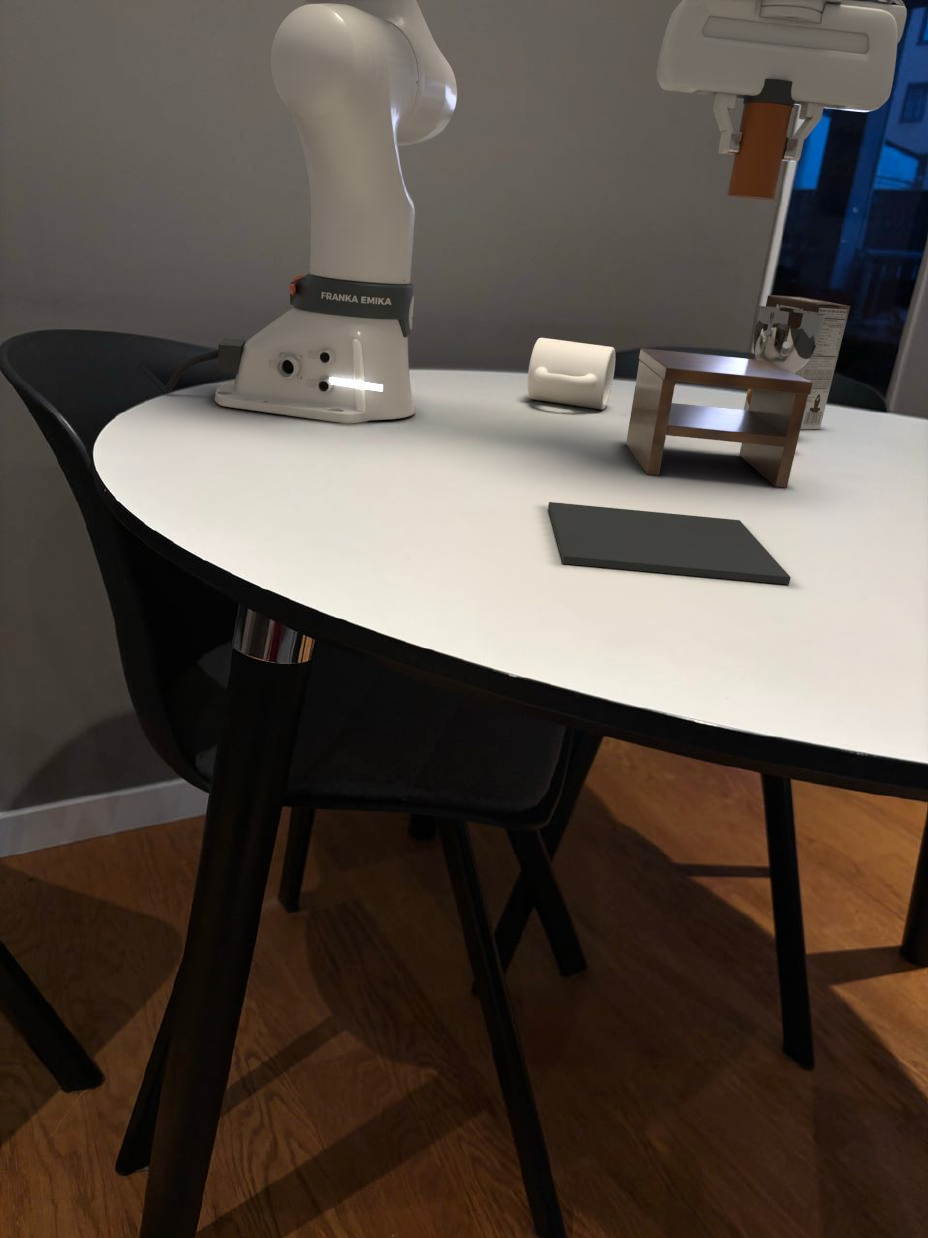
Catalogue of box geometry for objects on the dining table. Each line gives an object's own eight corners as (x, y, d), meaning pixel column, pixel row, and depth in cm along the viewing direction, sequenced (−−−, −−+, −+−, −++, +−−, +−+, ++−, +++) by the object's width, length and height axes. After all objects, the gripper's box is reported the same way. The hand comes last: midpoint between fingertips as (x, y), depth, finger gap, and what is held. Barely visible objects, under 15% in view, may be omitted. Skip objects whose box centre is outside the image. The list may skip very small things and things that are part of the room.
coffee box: (739, 415, 135) (764, 293, 129) (772, 415, 138) (798, 296, 132) (789, 430, 128) (818, 302, 122) (823, 429, 131) (853, 304, 125)
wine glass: (804, 436, 125) (832, 314, 119) (787, 444, 119) (816, 315, 113) (744, 424, 129) (768, 305, 123) (724, 431, 122) (749, 306, 117)
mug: (538, 394, 135) (545, 334, 132) (609, 405, 133) (618, 344, 130) (516, 407, 124) (524, 342, 121) (593, 418, 122) (603, 353, 119)
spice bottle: (733, 194, 87) (755, 76, 84) (721, 195, 91) (741, 82, 88) (781, 199, 88) (805, 81, 84) (767, 200, 92) (789, 88, 88)
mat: (562, 563, 68) (563, 555, 68) (547, 508, 81) (548, 501, 81) (789, 585, 69) (791, 577, 68) (738, 526, 82) (739, 519, 81)
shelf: (647, 475, 96) (666, 367, 92) (625, 443, 110) (640, 347, 106) (788, 489, 96) (813, 382, 92) (748, 455, 110) (768, 360, 106)
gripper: (896, -1, 86) (857, 170, 92) (667, -28, 86) (641, 147, 91) (928, -17, 80) (884, 167, 86) (683, -45, 80) (654, 142, 85)
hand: (757, 157), depth 88 cm, fingers closed on spice bottle, 4 cm apart
